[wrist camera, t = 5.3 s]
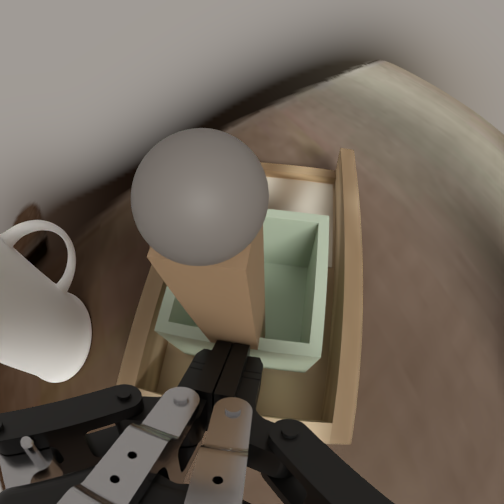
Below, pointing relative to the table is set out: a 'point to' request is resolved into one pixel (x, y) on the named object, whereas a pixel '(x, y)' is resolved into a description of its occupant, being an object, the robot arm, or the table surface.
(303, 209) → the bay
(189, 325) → the box
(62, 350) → the mug
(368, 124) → the table surface
